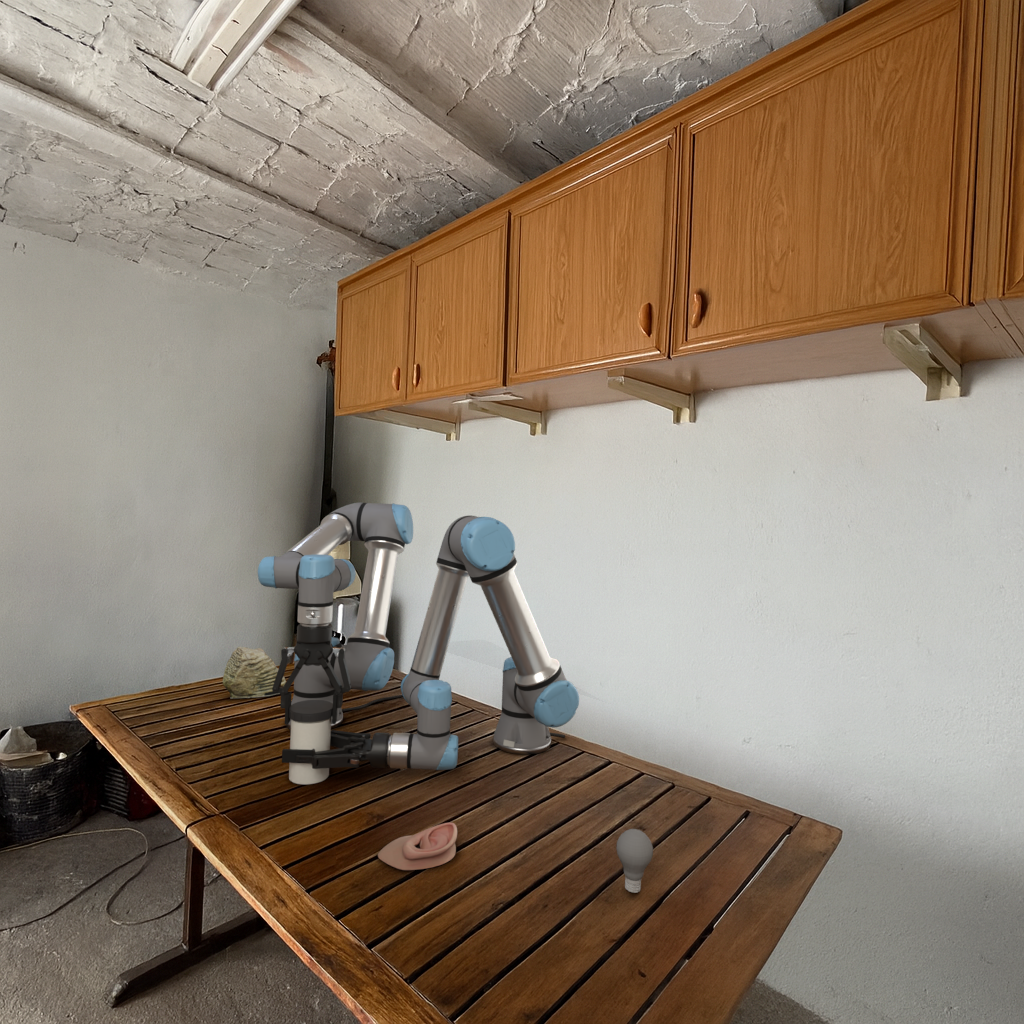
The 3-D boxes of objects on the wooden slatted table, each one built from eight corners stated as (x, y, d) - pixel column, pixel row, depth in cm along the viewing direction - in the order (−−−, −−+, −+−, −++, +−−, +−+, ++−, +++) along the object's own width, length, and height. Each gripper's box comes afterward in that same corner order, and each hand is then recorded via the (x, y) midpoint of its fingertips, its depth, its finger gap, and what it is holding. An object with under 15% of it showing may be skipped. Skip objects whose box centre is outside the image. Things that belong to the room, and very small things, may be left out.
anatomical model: (371, 842, 110) (396, 811, 121) (370, 865, 110) (395, 831, 121) (444, 854, 107) (463, 821, 118) (443, 877, 107) (462, 842, 118)
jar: (280, 780, 141) (283, 712, 140) (305, 765, 149) (308, 701, 149) (312, 787, 138) (315, 718, 138) (336, 772, 146) (339, 706, 146)
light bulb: (610, 879, 108) (613, 822, 108) (644, 879, 109) (647, 822, 109) (619, 902, 102) (622, 840, 102) (655, 901, 103) (658, 840, 103)
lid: (341, 710, 147) (342, 702, 147) (319, 724, 137) (319, 716, 137) (304, 705, 149) (305, 697, 149) (279, 719, 140) (280, 710, 140)
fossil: (218, 695, 195) (220, 647, 195) (278, 685, 208) (279, 640, 207) (228, 703, 189) (230, 653, 188) (289, 692, 201) (290, 645, 201)
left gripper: (259, 626, 137) (255, 728, 138) (363, 627, 141) (359, 727, 141) (267, 619, 145) (263, 716, 145) (366, 621, 148) (362, 716, 148)
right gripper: (381, 788, 133) (272, 785, 132) (396, 748, 155) (303, 745, 154) (382, 752, 133) (273, 749, 132) (397, 717, 154) (304, 714, 154)
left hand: (311, 722), depth 143 cm, fingers closed on lid, 10 cm apart
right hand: (289, 747), depth 143 cm, fingers closed on jar, 9 cm apart
